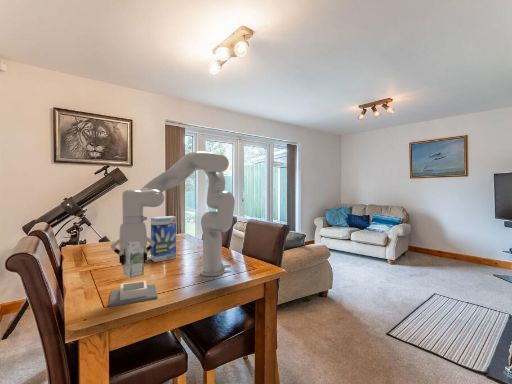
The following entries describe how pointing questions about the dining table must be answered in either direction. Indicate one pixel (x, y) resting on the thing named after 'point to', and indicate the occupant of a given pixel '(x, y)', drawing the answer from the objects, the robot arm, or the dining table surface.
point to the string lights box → (163, 238)
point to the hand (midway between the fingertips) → (133, 263)
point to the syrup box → (133, 260)
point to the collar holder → (132, 293)
